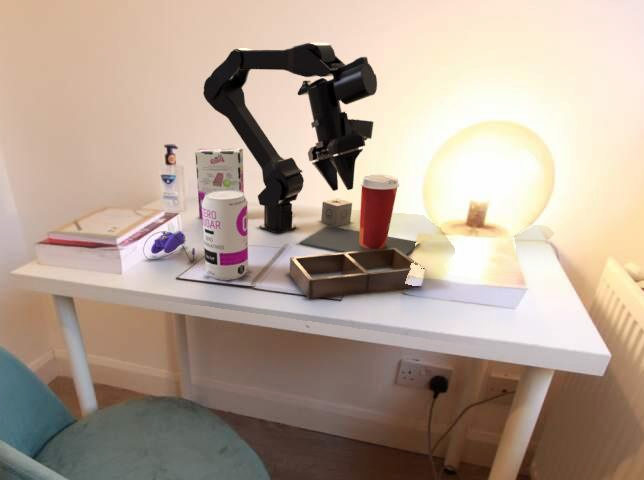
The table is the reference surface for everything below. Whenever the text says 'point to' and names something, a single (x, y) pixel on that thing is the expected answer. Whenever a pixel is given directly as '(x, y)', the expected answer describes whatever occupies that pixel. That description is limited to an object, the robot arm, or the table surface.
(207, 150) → the candy bar box
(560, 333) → the table surface
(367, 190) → the paper cup
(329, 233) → the desk mat
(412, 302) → the table surface
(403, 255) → the divided tray
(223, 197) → the supplement can
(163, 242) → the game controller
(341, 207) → the dice cube
